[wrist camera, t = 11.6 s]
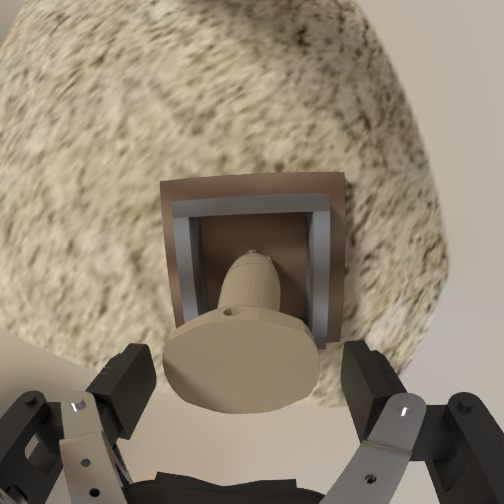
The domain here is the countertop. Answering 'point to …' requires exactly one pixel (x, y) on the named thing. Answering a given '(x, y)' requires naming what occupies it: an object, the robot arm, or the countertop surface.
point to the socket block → (259, 241)
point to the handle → (243, 347)
